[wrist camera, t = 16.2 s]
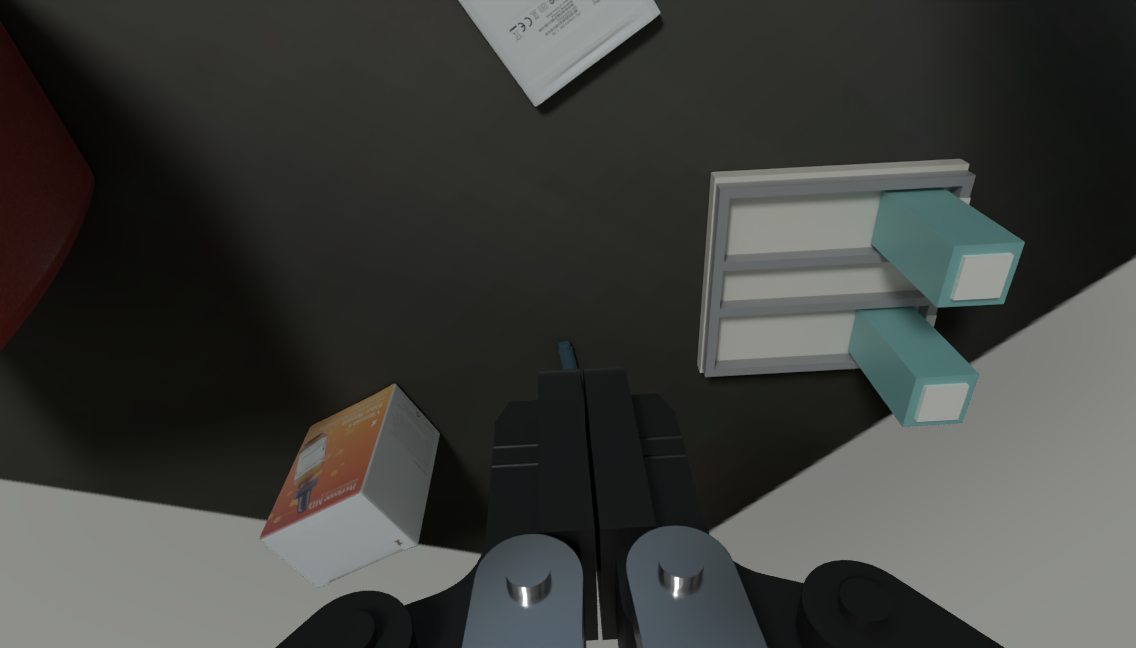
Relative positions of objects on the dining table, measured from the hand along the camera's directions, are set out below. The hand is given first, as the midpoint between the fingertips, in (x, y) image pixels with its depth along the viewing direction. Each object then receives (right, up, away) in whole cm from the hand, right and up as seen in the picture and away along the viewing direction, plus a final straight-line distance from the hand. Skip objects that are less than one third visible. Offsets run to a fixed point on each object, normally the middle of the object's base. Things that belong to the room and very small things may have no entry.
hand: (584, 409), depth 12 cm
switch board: (+16, +5, +32) cm, 36 cm away
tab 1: (+20, +8, +29) cm, 36 cm away
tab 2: (+21, +1, +33) cm, 39 cm away
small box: (-14, -6, +37) cm, 41 cm away
